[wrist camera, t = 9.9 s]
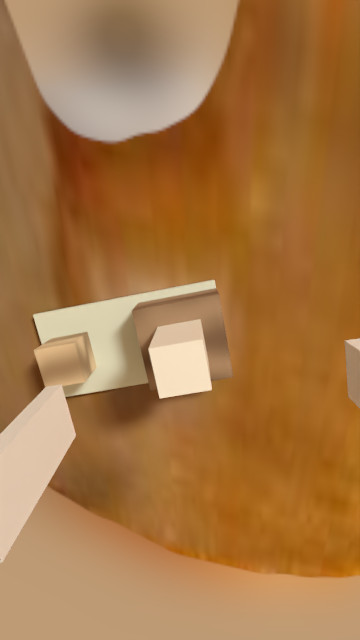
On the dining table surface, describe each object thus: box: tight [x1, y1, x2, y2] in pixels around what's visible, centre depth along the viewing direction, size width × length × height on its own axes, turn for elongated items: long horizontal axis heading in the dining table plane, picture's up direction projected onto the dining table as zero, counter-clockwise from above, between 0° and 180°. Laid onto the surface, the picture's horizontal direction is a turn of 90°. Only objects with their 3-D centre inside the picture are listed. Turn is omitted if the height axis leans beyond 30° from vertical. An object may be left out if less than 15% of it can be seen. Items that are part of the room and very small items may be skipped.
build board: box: [33, 280, 216, 397], centre depth 45 cm, size 12×24×1 cm, turn 101°
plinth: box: [132, 288, 233, 391], centre depth 41 cm, size 10×10×5 cm
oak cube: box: [34, 332, 97, 387], centre depth 42 cm, size 5×5×5 cm
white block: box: [148, 319, 212, 398], centre depth 35 cm, size 5×5×8 cm
